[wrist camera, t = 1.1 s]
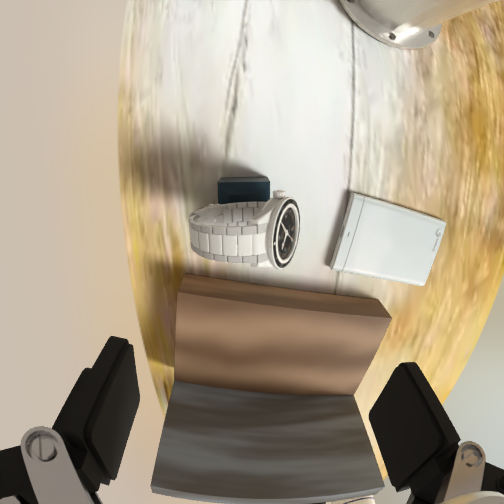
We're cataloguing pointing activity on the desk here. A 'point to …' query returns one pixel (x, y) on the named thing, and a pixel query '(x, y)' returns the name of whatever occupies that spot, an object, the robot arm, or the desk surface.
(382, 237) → the hard drive
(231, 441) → the display stand
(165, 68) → the desk surface
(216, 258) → the watch
